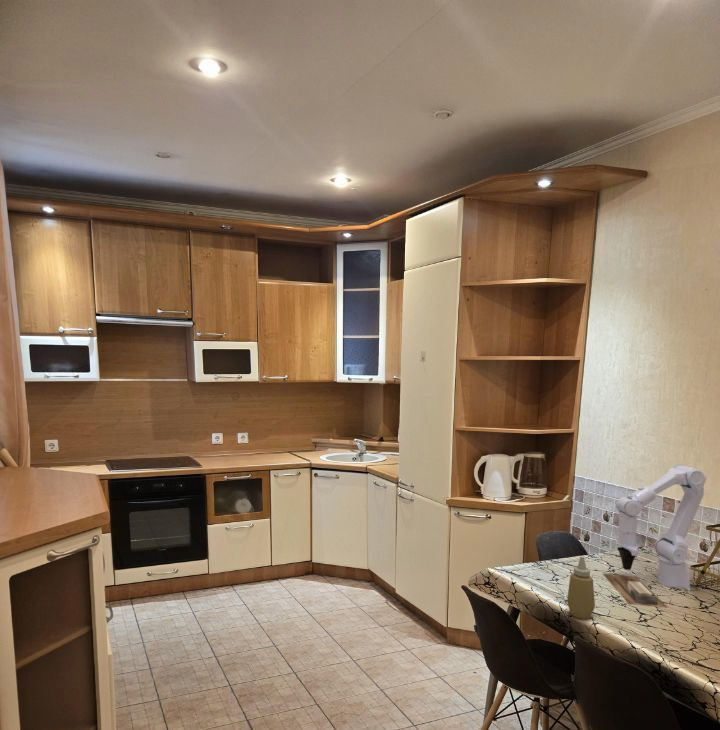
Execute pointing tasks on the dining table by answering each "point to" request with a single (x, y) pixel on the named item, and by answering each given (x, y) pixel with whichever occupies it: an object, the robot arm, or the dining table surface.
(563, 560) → the dining table surface
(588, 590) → the squeeze bottle
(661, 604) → the board
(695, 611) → the dining table surface
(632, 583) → the cream rectangular block
